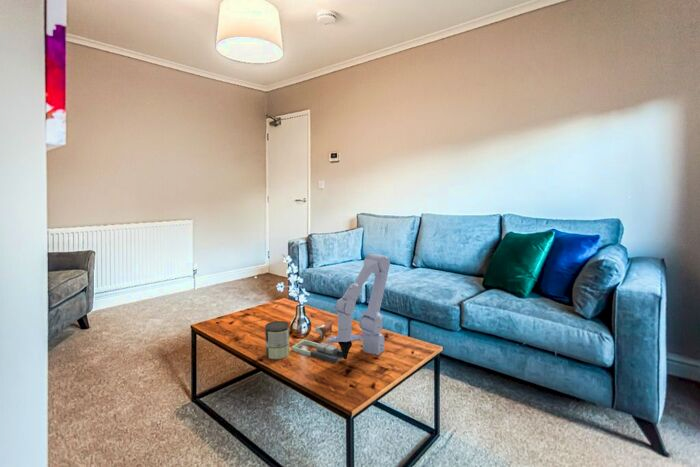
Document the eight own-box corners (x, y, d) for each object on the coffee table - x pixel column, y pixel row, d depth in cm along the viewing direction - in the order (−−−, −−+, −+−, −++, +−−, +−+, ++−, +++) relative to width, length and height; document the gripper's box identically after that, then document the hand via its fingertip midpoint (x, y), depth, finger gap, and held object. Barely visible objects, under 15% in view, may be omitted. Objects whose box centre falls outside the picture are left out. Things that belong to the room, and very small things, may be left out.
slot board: (346, 356, 162) (346, 351, 161) (334, 365, 154) (334, 359, 154) (322, 349, 169) (322, 344, 168) (310, 357, 161) (310, 351, 161)
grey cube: (337, 355, 161) (337, 346, 161) (332, 359, 158) (332, 350, 157) (330, 353, 163) (330, 344, 163) (324, 356, 160) (324, 348, 159)
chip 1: (329, 353, 163) (329, 344, 163) (324, 356, 160) (323, 347, 160) (322, 351, 166) (322, 342, 165) (316, 354, 162) (316, 345, 162)
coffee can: (260, 356, 162) (259, 325, 160) (279, 348, 170) (278, 319, 168) (276, 363, 155) (275, 331, 154) (294, 355, 163) (294, 324, 162)
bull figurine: (312, 342, 176) (312, 326, 175) (327, 333, 188) (327, 317, 187) (320, 344, 174) (320, 328, 173) (334, 334, 186) (334, 319, 185)
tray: (322, 349, 169) (322, 344, 168) (310, 357, 161) (310, 352, 161) (304, 344, 174) (304, 339, 174) (291, 351, 167) (291, 346, 166)
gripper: (359, 322, 160) (359, 352, 162) (326, 325, 157) (326, 355, 159) (363, 328, 153) (363, 359, 155) (328, 331, 150) (329, 363, 152)
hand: (344, 358), depth 157 cm, fingers closed
